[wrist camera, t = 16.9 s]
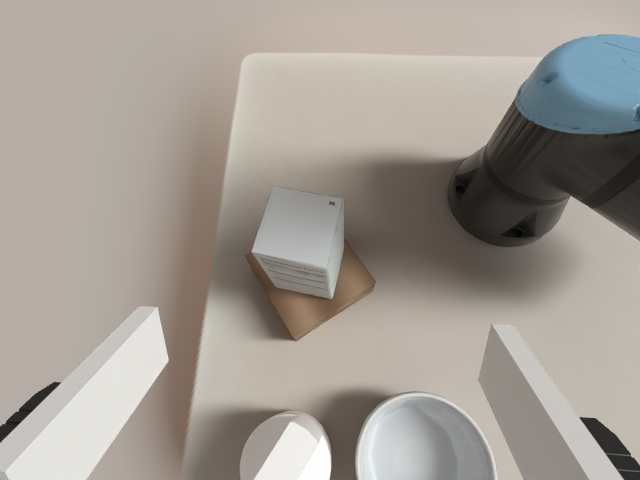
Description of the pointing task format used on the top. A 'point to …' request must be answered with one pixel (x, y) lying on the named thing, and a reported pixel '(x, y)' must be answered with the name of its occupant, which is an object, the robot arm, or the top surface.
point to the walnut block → (312, 310)
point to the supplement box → (301, 241)
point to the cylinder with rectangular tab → (287, 449)
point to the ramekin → (422, 442)
